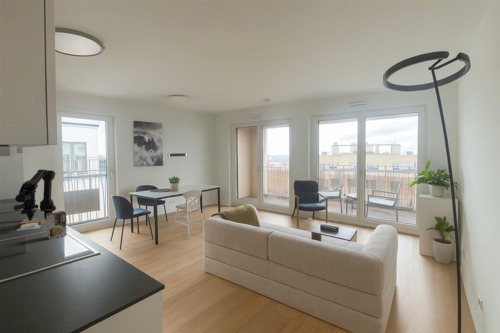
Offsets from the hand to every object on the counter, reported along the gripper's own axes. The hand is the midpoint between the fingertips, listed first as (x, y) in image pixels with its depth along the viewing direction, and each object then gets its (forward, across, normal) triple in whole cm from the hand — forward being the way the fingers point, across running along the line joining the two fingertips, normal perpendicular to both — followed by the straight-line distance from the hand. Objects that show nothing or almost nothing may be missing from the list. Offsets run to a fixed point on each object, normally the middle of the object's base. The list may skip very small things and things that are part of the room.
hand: (30, 220), depth 173 cm
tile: (+4, +3, 0) cm, 5 cm away
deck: (+5, -7, 0) cm, 8 cm away
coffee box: (+5, +32, +19) cm, 38 cm away
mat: (+5, +4, 0) cm, 6 cm away
